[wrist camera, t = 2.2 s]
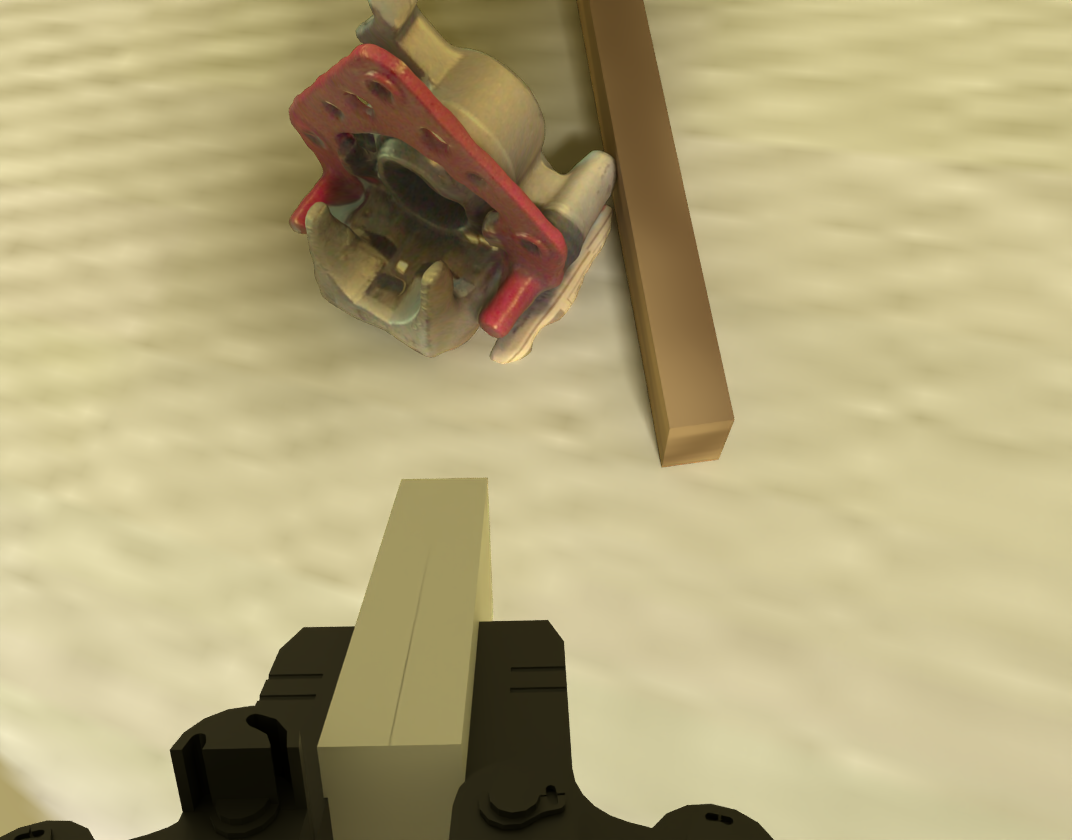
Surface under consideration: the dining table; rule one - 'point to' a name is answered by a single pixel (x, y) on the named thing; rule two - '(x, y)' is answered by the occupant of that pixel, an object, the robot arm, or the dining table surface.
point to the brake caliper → (442, 193)
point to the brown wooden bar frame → (656, 237)
